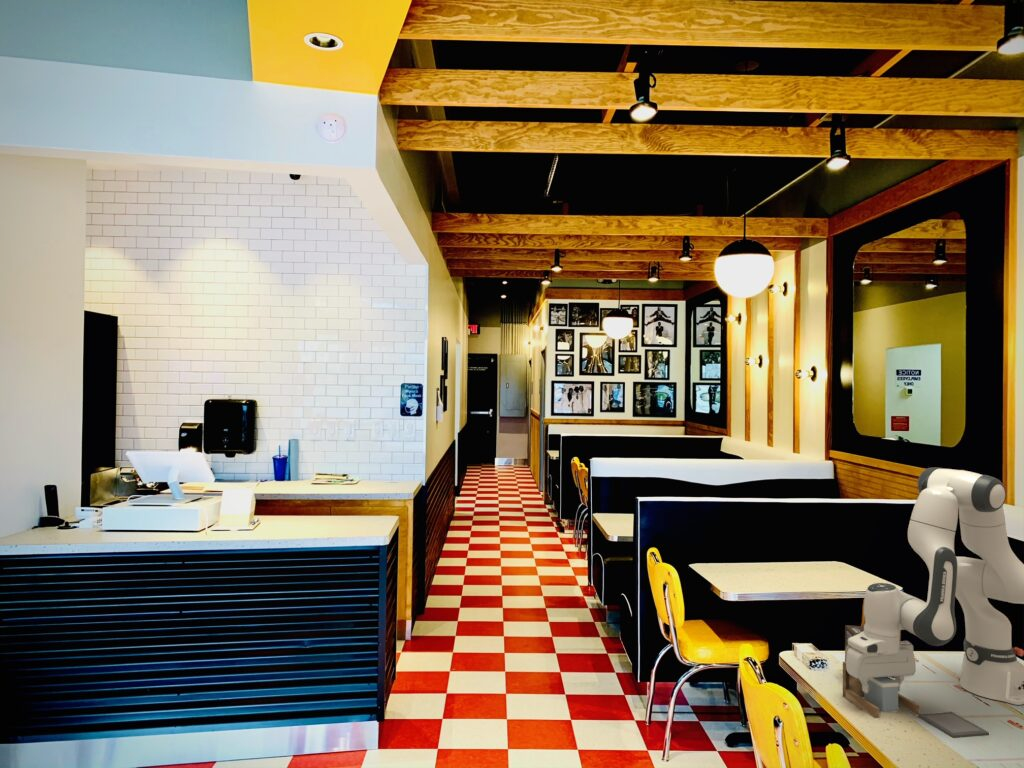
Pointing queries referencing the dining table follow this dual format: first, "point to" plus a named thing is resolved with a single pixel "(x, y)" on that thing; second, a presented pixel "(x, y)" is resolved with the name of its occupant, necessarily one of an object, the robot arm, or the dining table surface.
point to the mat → (953, 724)
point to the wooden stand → (855, 694)
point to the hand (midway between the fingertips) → (881, 691)
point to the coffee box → (851, 635)
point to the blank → (883, 693)
